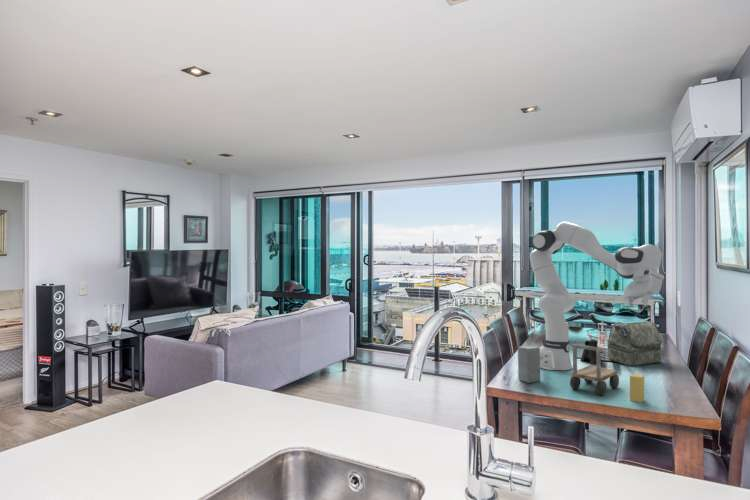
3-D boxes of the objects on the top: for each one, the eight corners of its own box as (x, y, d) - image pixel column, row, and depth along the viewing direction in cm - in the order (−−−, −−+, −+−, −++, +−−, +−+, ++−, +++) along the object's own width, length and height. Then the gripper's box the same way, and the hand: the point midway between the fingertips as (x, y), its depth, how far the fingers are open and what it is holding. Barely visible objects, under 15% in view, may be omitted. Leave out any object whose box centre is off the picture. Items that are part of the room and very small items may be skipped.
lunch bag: (630, 368, 230) (630, 325, 230) (602, 359, 248) (601, 320, 247) (667, 363, 239) (667, 322, 238) (637, 355, 256) (637, 317, 256)
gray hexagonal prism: (528, 383, 205) (528, 349, 205) (516, 379, 212) (516, 346, 212) (541, 381, 209) (541, 347, 209) (529, 377, 216) (529, 344, 216)
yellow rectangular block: (630, 400, 182) (629, 375, 182) (633, 398, 185) (633, 373, 185) (640, 402, 179) (640, 377, 179) (644, 400, 182) (644, 375, 182)
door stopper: (602, 363, 239) (602, 341, 239) (594, 365, 236) (594, 342, 236) (588, 360, 247) (587, 338, 247) (580, 361, 245) (580, 339, 245)
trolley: (570, 390, 196) (569, 343, 196) (589, 380, 209) (589, 337, 209) (600, 397, 186) (600, 348, 186) (619, 386, 199) (618, 341, 199)
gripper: (623, 280, 209) (615, 306, 205) (653, 269, 190) (646, 297, 186) (635, 286, 209) (628, 312, 205) (667, 275, 190) (660, 304, 185)
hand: (637, 305), depth 195 cm, fingers open, 8 cm apart
